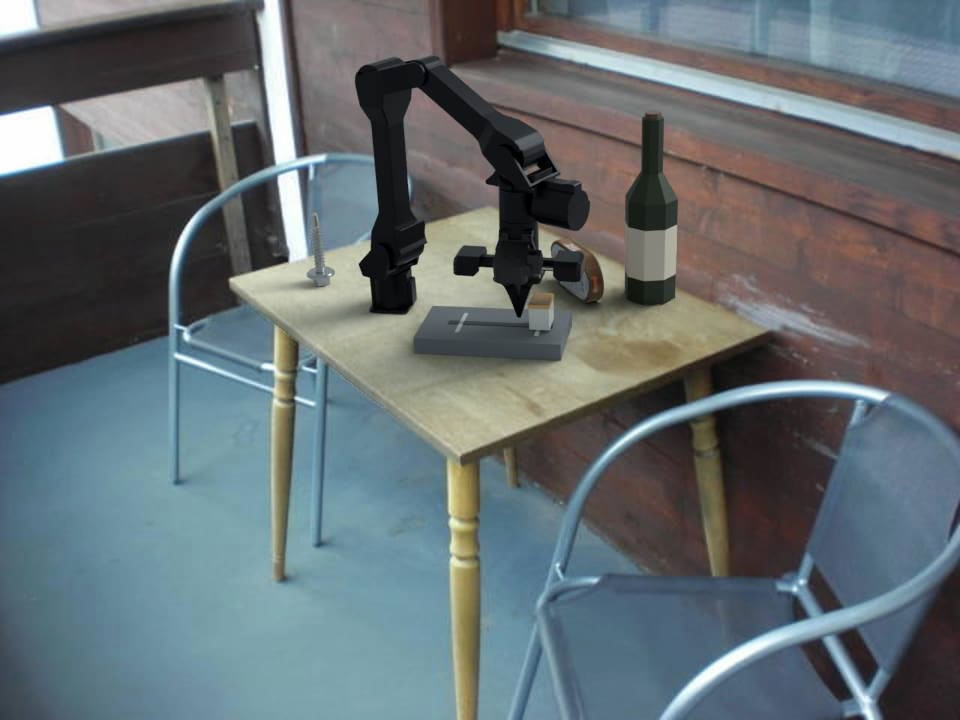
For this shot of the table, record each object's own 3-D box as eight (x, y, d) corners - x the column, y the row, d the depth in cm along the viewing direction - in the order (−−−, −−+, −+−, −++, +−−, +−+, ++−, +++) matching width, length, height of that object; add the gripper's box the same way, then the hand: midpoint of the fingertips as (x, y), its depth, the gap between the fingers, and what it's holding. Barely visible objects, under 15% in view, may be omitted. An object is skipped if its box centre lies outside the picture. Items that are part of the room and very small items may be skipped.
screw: (317, 291, 195) (302, 283, 198) (341, 283, 197) (326, 276, 201) (308, 218, 189) (293, 212, 192) (333, 211, 191) (318, 205, 195)
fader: (528, 329, 170) (528, 304, 168) (533, 317, 174) (533, 292, 172) (549, 330, 169) (549, 305, 167) (554, 318, 173) (553, 293, 171)
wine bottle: (641, 309, 181) (643, 122, 168) (614, 291, 188) (615, 110, 175) (685, 298, 184) (691, 114, 171) (657, 281, 191) (661, 102, 178)
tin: (605, 307, 183) (605, 258, 179) (588, 311, 182) (587, 261, 178) (565, 276, 196) (564, 229, 192) (548, 279, 195) (547, 232, 191)
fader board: (414, 353, 171) (413, 337, 170) (433, 320, 182) (432, 305, 180) (560, 360, 167) (560, 343, 166) (571, 325, 177) (571, 310, 176)
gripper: (442, 233, 159) (446, 335, 166) (576, 240, 156) (574, 344, 163) (460, 207, 169) (463, 304, 176) (586, 213, 165) (584, 312, 172)
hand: (519, 316), depth 171 cm, fingers closed
